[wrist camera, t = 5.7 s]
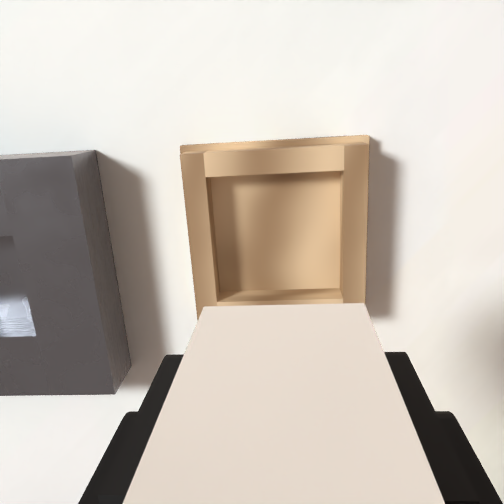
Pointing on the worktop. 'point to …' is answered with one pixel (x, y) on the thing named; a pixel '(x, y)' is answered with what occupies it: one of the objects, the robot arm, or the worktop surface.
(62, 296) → the port panel
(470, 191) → the worktop surface
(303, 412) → the plug
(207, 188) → the wooden square tray
